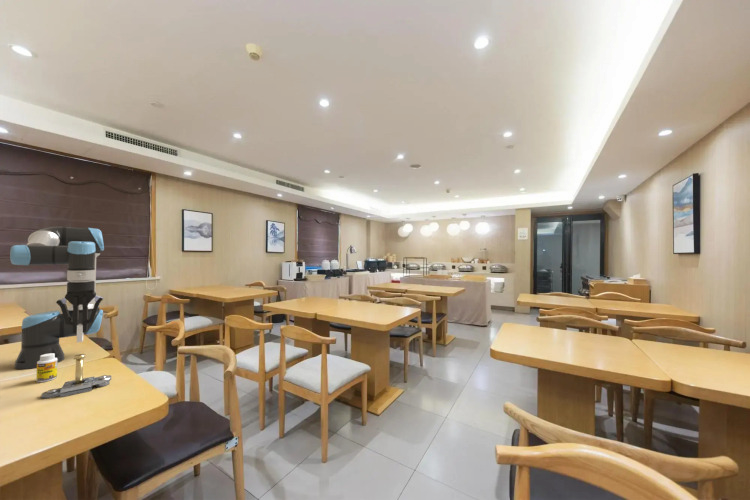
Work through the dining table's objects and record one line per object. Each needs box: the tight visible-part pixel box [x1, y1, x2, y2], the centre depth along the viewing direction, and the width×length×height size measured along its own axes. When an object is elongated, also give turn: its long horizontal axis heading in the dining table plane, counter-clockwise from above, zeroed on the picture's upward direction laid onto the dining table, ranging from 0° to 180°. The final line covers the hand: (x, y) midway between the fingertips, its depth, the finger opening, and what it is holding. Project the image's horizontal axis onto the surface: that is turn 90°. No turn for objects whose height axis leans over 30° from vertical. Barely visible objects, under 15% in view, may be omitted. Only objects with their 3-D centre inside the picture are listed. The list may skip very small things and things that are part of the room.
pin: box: [73, 353, 86, 385], centre depth 109 cm, size 3×3×13 cm
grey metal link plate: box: [40, 374, 112, 400], centre depth 109 cm, size 8×18×3 cm, turn 129°
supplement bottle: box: [36, 353, 58, 383], centre depth 117 cm, size 6×6×10 cm
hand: (79, 341), depth 112 cm, fingers closed
